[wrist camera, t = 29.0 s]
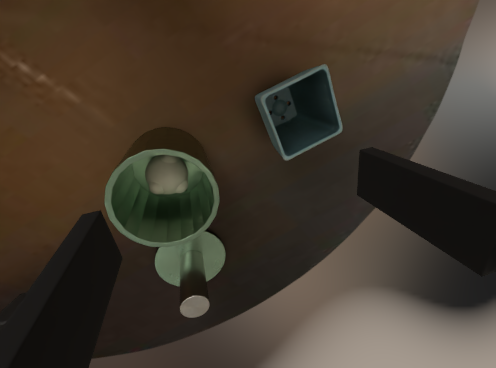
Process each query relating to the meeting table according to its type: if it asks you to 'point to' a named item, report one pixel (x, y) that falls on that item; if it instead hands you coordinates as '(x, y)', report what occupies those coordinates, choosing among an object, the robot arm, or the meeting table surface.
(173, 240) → the trash can
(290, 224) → the meeting table surface
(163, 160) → the paper ball
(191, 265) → the bin lid
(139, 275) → the meeting table surface
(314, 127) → the flower pot
